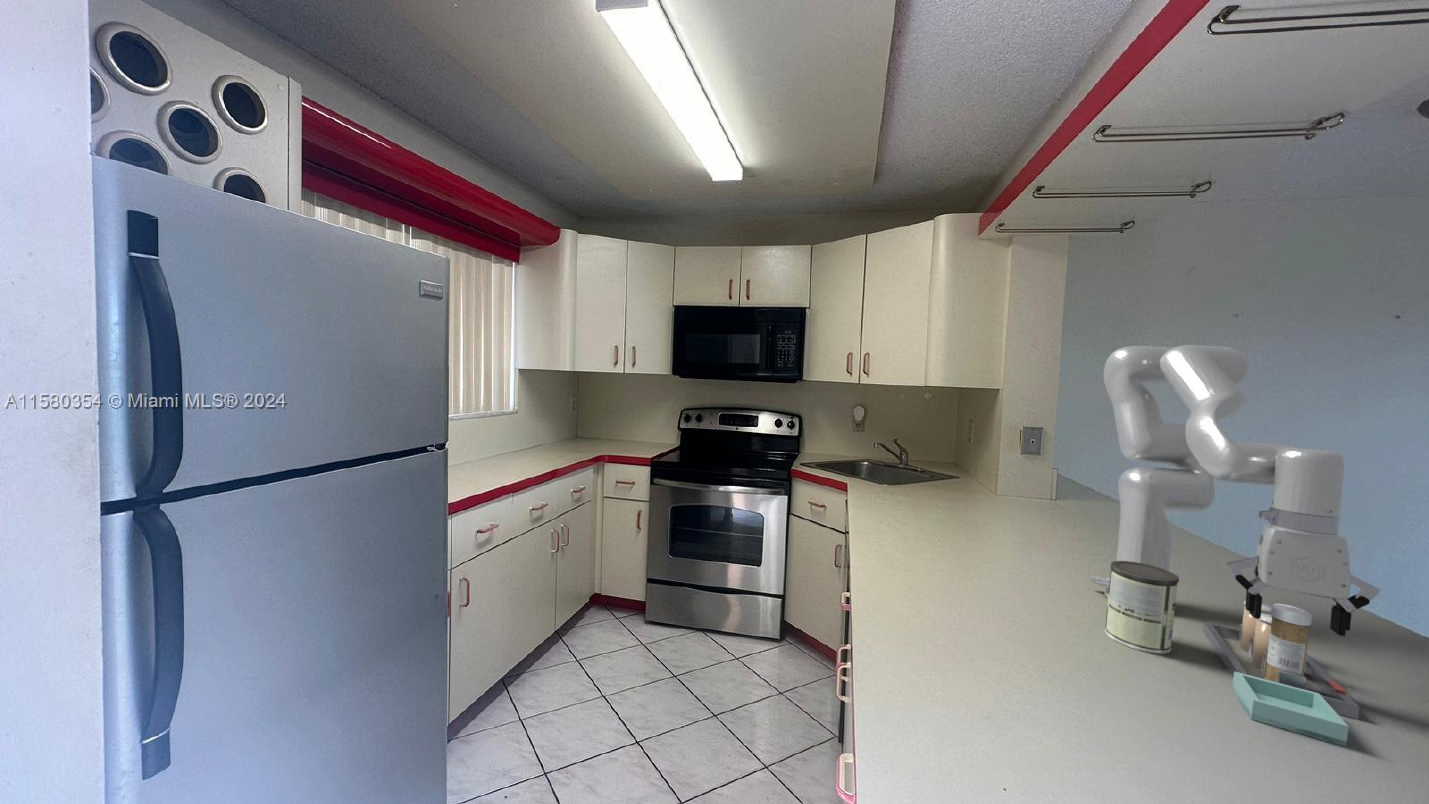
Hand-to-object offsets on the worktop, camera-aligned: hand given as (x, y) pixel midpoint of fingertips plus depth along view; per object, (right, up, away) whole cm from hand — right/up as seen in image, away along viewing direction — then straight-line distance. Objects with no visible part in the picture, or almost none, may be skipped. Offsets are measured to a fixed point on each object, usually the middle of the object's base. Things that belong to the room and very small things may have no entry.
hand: (1294, 624), depth 87 cm
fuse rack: (+3, -11, +7) cm, 13 cm away
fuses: (+5, -11, +10) cm, 16 cm away
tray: (-10, -11, -7) cm, 16 cm away
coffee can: (-14, -10, +15) cm, 23 cm away
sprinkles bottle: (-1, -11, +1) cm, 11 cm away
